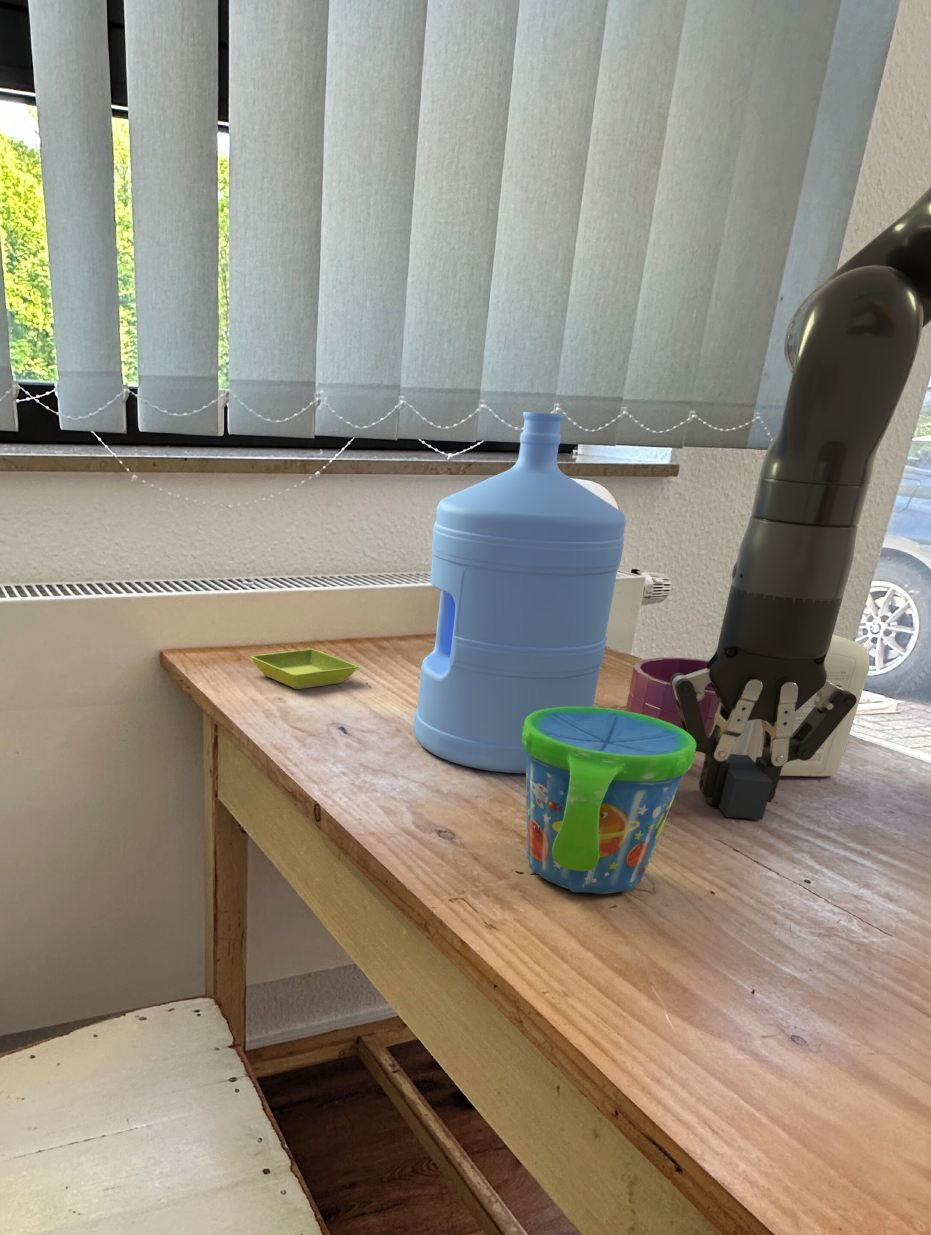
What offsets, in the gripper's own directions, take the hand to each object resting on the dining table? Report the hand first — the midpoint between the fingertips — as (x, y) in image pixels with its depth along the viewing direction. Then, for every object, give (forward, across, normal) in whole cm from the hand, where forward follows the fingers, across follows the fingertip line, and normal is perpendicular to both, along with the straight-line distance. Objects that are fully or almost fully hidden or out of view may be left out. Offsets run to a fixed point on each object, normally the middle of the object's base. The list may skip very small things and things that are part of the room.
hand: (733, 802), depth 76 cm
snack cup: (0, -14, -15) cm, 21 cm away
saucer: (0, -38, +27) cm, 47 cm away
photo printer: (+1, +6, +9) cm, 11 cm away
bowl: (0, +2, +20) cm, 21 cm away
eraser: (0, 0, 0) cm, 0 cm away
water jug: (0, -18, +10) cm, 21 cm away
